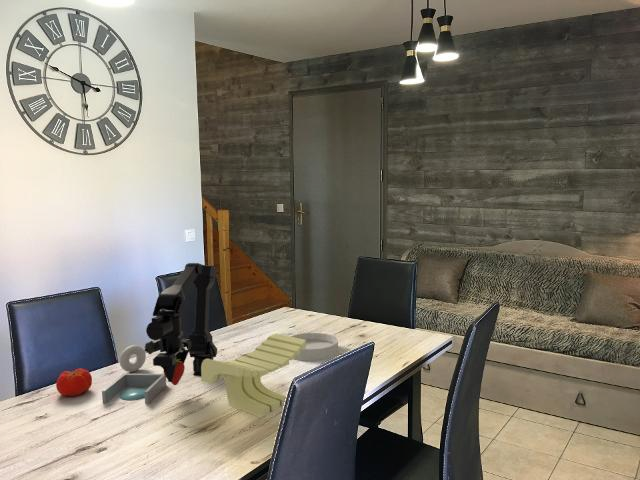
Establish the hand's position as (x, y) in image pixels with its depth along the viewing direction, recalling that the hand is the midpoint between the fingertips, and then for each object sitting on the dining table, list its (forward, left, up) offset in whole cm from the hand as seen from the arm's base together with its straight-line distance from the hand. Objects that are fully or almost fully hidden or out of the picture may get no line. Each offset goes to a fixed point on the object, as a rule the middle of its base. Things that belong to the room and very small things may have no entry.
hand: (174, 377), depth 168 cm
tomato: (+35, -1, -7) cm, 36 cm away
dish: (-40, -45, -7) cm, 61 cm away
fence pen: (+14, -1, -6) cm, 15 cm away
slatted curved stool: (-28, +4, -6) cm, 29 cm away
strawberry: (0, 0, -3) cm, 3 cm away
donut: (+24, -21, -6) cm, 33 cm away
